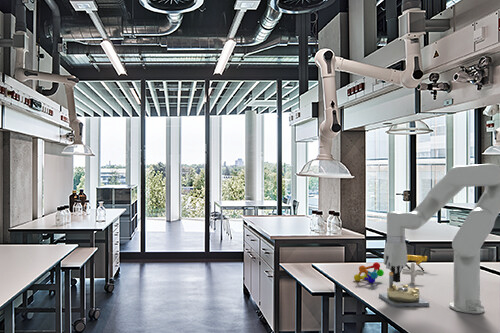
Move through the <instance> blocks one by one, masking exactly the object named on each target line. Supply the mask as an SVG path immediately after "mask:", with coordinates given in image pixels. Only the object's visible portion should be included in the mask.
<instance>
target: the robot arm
mask: <svg viewBox="0 0 500 333" xmlns="http://www.w3.org/2000/svg"><path fill="white" fill-rule="evenodd" d="M468 187H470V188H471V187H472V188H473V187H484V191H483V193H481V194H482V195H481V196H480V197H479V199H478V201H477V203H476V205H475V206H474V208H472V210H471V211H469V213H468V214H467V216H466V217H465V219H464V221H463V223H462V224H461V226H460V228H459V229H458V230H457V232H456V233H455V235H454V237H453V239H452V242H451V247H452V249H453V301H452V302H450V303H448V304H449V309H452V310H453V311H456V312H460V313H464V314H482V313H484V312H485V306H484V305H483V304H482V301H481V289H480V288H481V280H480V279H481V247H482V246H483V245H484V243H485V241H486V239H487V238H488V237H489V236H490V233H491V232H492V230H493V228H494V227H495V222H496V219H497V217H498V216H499V214H500V165H497V164H495V163H482V164H469V165H455V166H452V167H451V168H449V169H448V170H447V172H446V174H445V175H444V176H443V177H442V178H441V179H440V180H439V181H438V182H437V183H436V184H435V185H434V186H433V187H432V188H430V190H429V191H428V192H427V194H426V196H425V197H424V199H422V201H421V202H420V203H419V204H418V205H417V206H416V207H415V208H414V209H413V210H412V211H410V212H403V211H399V210H397V211H395V210H394V211H388V212H387V213H386V242H385V244H384V248H383V250H384V251H383V264H384V265H385V269H387V270H390V272H393V283H401V273H402V271H403V269H404V268H407V267H406V264H407V265H408V262H407V255H408V248H407V244H406V238H407V237H406V229H408V230H411V231H412V230H413V231H416V230H418V229H420V228H422V227H423V226H425V224H427V223H428V221H429V220H430V219H431V218H433V217H434V216H435V215H436V214H437V213H438V212H439V211H440V210H441V209H443V208H444V207H445V206H447V204H448V203H449V202H450V201H451V200H452V199H454V198H455V196H457V195H458V194H459V193H460V192H461V191H462V190H463V189H464V188H468Z"/></svg>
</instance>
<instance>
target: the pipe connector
mask: <svg viewBox="0 0 500 333" xmlns="http://www.w3.org/2000/svg"><path fill="white" fill-rule="evenodd" d="M415 267H416V263H415V262H411V263H410V269H411V270H409V269H408V270H402V271H401V273H402V274H401V275H407V276H408V275H409V276H410V284H412V283H415V282H416V281H415V280H416V277H417V276H424V272H425V271H416V268H415Z"/></svg>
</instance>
